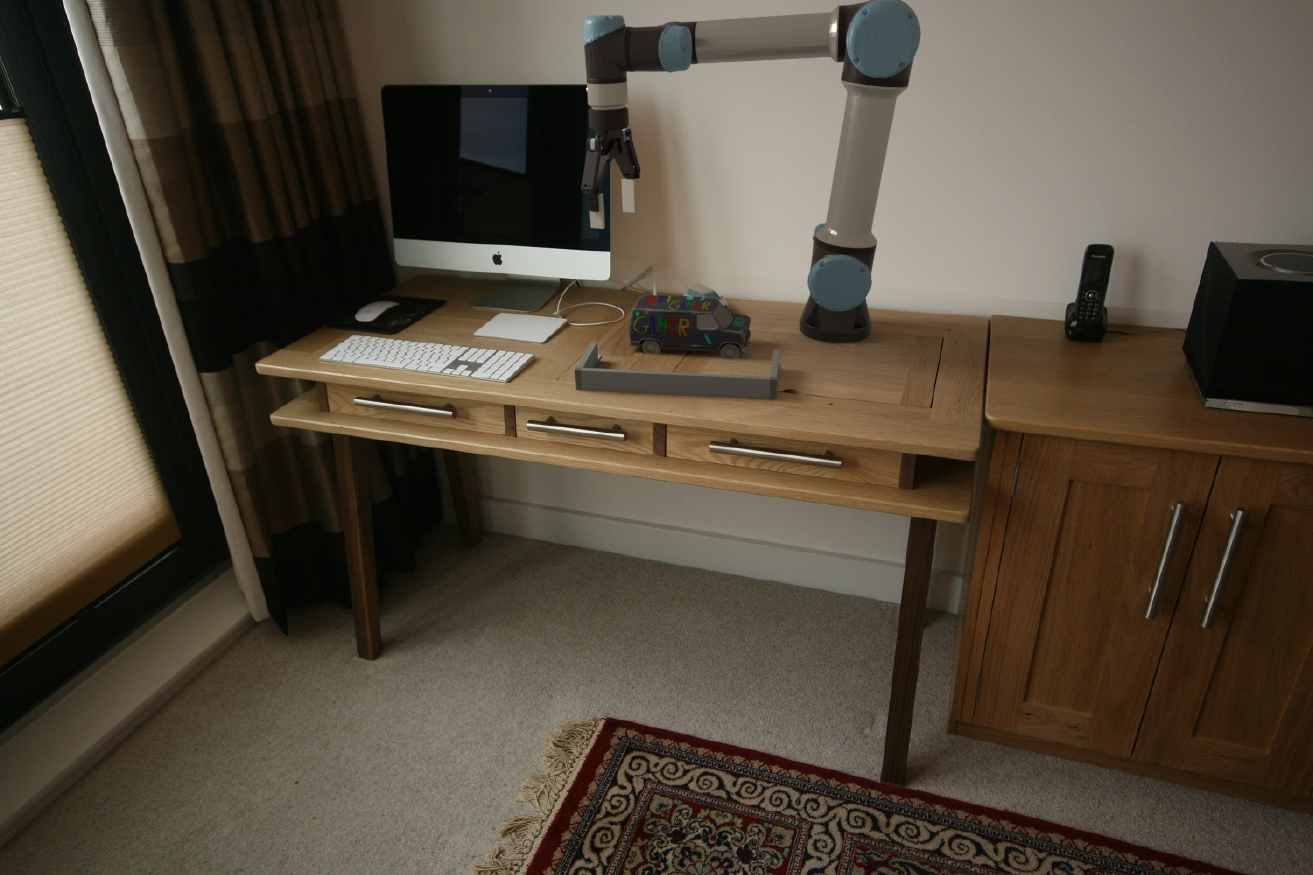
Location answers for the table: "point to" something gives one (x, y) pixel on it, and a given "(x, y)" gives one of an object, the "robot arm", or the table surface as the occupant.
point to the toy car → (704, 294)
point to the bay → (673, 380)
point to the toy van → (687, 325)
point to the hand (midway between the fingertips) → (614, 219)
